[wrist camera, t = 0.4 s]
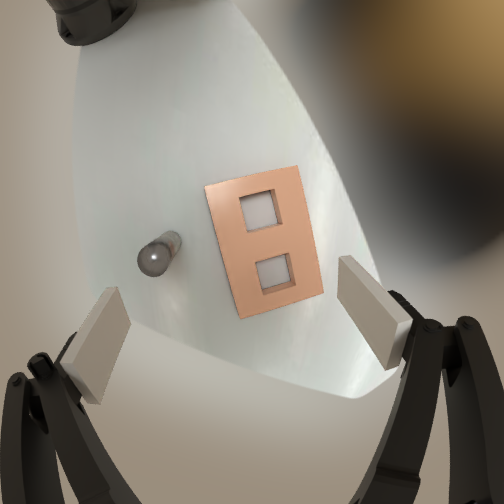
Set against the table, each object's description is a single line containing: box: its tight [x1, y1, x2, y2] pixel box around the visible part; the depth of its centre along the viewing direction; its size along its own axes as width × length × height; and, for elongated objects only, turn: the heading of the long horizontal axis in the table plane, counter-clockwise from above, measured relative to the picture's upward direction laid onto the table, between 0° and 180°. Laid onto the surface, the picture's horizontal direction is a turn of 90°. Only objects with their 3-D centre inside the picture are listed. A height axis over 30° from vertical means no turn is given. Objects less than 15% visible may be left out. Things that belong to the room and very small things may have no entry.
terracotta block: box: [204, 165, 324, 319], centre depth 39 cm, size 19×13×2 cm
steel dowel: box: [137, 231, 181, 277], centre depth 31 cm, size 3×3×14 cm
